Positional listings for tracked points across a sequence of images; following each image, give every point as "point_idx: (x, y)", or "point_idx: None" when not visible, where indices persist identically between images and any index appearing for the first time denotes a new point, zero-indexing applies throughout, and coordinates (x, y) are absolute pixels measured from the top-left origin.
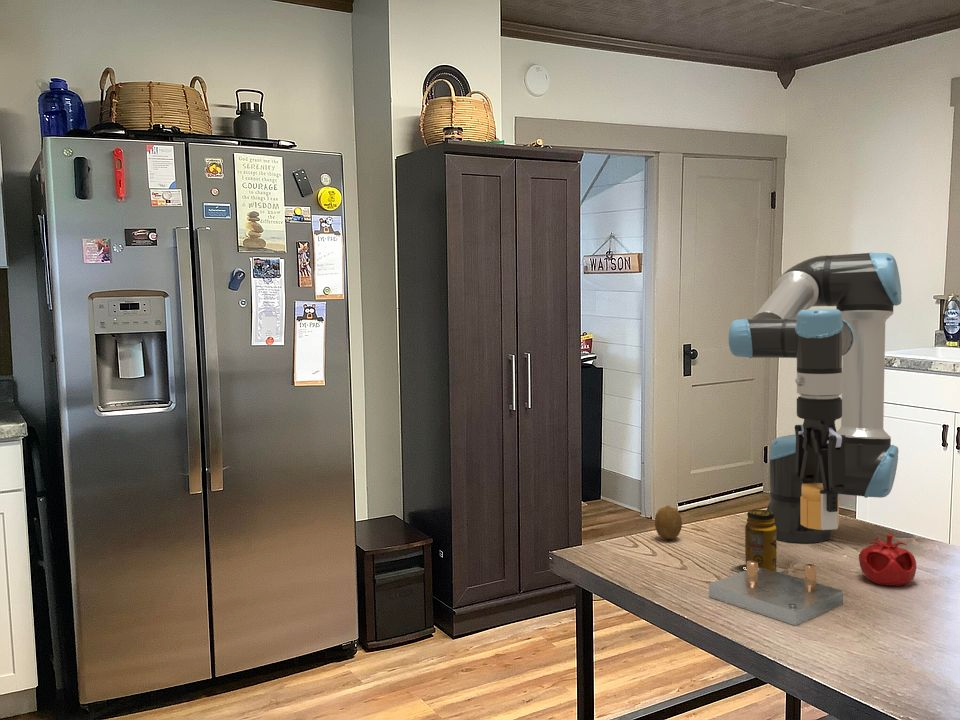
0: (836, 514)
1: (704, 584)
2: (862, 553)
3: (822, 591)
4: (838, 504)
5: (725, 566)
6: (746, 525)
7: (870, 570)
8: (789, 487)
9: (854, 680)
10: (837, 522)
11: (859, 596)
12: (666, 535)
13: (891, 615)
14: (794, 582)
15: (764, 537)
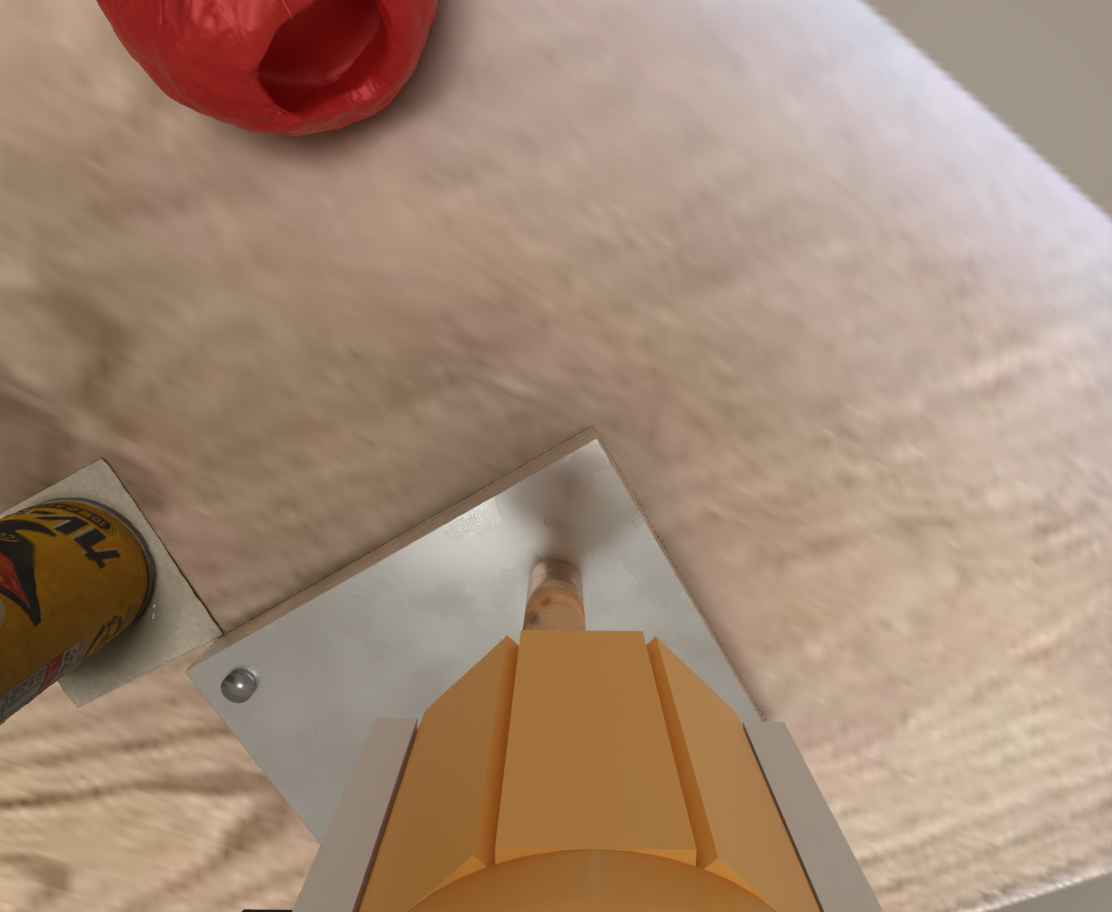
0: (842, 844)
1: (267, 863)
2: (218, 100)
3: (587, 542)
4: (712, 803)
5: (31, 702)
6: None
7: (338, 119)
8: None
9: None
10: (804, 764)
11: (512, 294)
12: None
13: (766, 286)
14: (443, 607)
15: (11, 682)
